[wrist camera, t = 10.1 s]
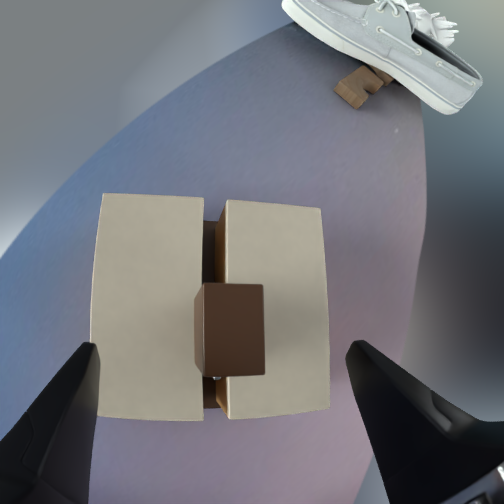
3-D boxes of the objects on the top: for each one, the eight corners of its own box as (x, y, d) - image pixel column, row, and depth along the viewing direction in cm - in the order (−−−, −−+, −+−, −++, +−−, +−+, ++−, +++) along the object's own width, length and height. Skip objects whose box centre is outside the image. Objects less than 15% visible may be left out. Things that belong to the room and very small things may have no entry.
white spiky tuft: (442, 85, 31) (475, 48, 23) (366, 44, 30) (394, -4, 22) (428, 46, 35) (453, 13, 27) (363, 12, 33) (384, -27, 25)
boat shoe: (267, 18, 26) (294, -43, 18) (294, -2, 29) (318, -50, 21) (453, 140, 29) (501, 103, 21) (450, 101, 32) (489, 68, 24)
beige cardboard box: (295, 400, 19) (331, 416, 14) (111, 403, 16) (92, 425, 11) (289, 229, 22) (321, 199, 17) (117, 219, 19) (102, 183, 14)
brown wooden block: (222, 367, 18) (266, 396, 9) (189, 367, 17) (204, 399, 9) (221, 296, 19) (263, 262, 10) (188, 295, 19) (202, 260, 10)
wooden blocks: (375, 96, 25) (315, 48, 25) (360, 113, 28) (304, 68, 28) (434, 42, 35) (400, 13, 35) (425, 52, 38) (392, 24, 38)
